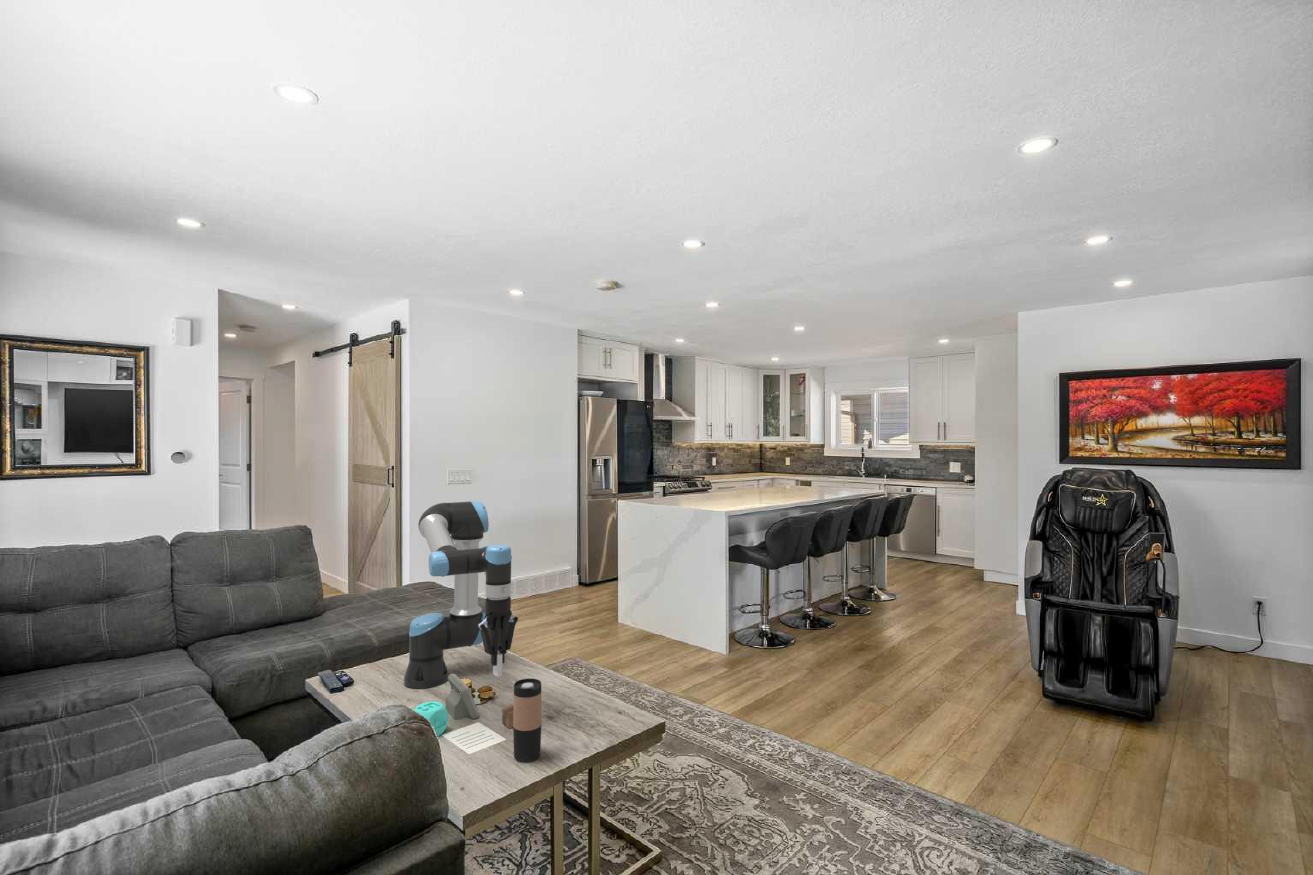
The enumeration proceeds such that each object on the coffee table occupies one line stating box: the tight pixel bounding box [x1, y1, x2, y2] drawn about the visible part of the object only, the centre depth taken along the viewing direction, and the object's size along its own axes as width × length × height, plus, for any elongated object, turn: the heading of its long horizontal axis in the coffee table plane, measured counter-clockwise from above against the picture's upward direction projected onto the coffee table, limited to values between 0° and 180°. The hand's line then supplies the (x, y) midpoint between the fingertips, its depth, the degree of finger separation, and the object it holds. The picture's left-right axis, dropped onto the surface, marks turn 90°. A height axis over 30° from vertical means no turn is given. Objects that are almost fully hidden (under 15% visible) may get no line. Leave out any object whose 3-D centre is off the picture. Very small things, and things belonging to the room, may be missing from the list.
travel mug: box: [512, 678, 542, 763], centre depth 170 cm, size 8×8×20 cm
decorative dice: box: [412, 701, 449, 737], centre depth 183 cm, size 8×8×8 cm
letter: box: [441, 722, 507, 755], centre depth 180 cm, size 16×12×1 cm
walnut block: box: [501, 704, 514, 730], centre depth 189 cm, size 5×5×5 cm
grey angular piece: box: [445, 673, 480, 720], centre depth 198 cm, size 16×9×11 cm, turn 24°
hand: (497, 674), depth 186 cm, fingers closed
